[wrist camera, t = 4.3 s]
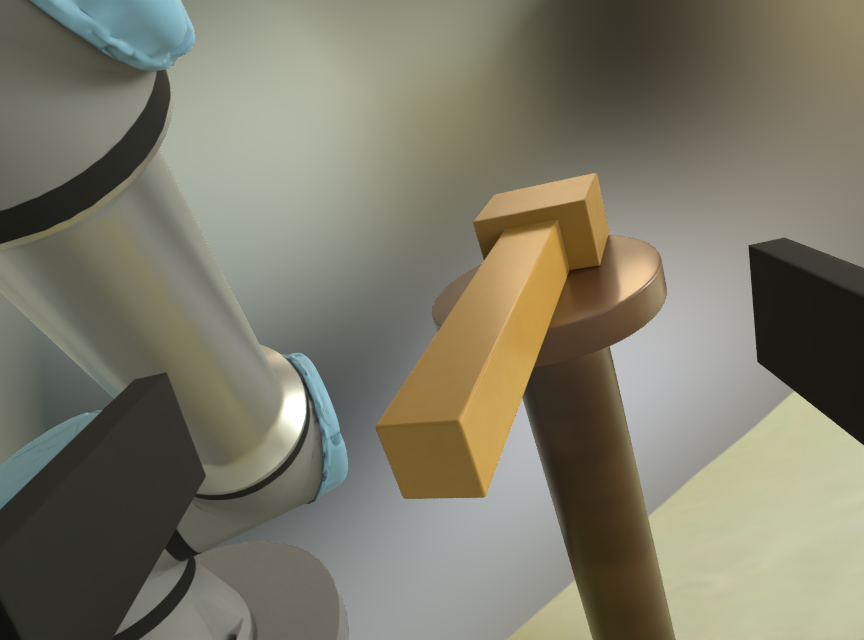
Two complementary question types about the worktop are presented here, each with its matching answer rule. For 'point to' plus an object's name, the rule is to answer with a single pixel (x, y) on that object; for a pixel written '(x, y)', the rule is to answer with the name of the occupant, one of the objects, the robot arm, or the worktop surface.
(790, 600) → the worktop surface
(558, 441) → the dark brown spool
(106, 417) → the robot arm
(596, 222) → the wooden t-shaped block
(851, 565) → the worktop surface
